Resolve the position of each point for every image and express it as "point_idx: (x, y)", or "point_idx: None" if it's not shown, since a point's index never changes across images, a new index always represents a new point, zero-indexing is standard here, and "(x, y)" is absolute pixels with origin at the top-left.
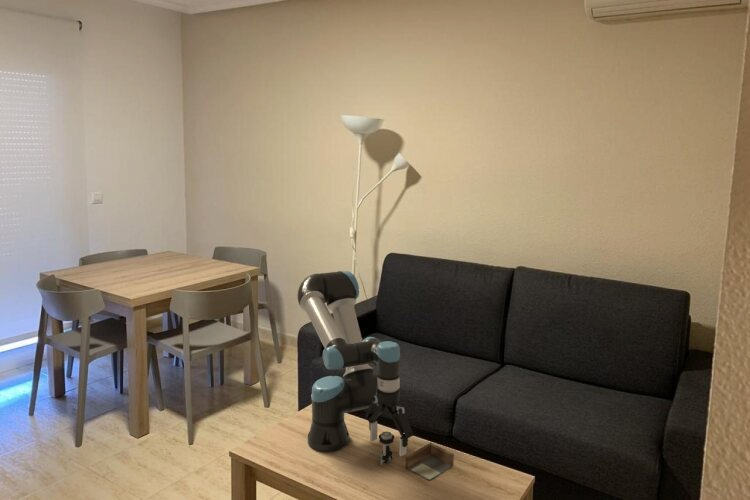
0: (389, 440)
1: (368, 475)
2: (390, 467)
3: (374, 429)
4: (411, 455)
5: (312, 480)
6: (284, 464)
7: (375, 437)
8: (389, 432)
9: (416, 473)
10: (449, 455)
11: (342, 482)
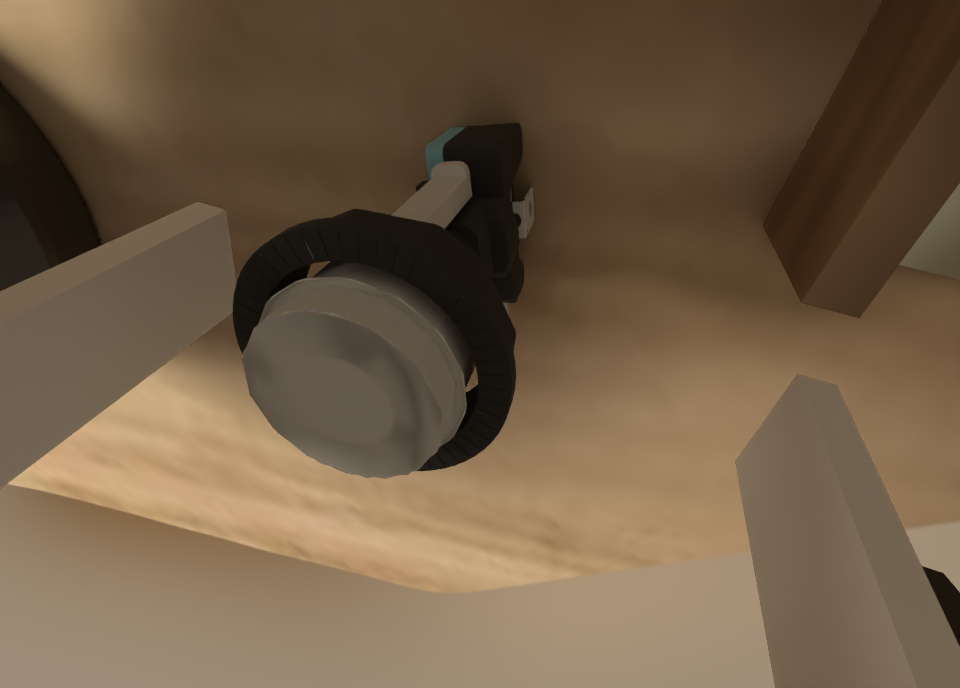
0: (485, 447)
1: None
2: (589, 285)
3: (88, 357)
4: (891, 249)
5: (292, 545)
6: (107, 485)
7: (205, 262)
8: (337, 328)
9: (933, 268)
10: None
11: (411, 529)
